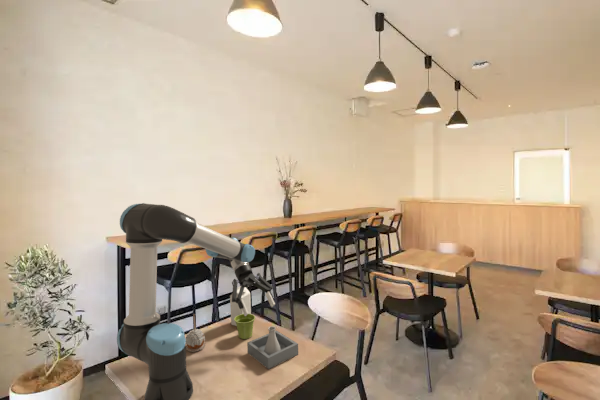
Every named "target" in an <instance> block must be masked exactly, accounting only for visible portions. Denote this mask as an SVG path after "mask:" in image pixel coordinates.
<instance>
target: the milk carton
mask: <svg viewBox="0 0 600 400" xmlns="http://www.w3.org/2000/svg"><path fill="white" fill-rule="evenodd" d="M240 287H241V285H240V286H237V297H238V294H239V291H240ZM237 297H236V298H237ZM251 297H252V296H251V292H250V290H249V289H248V287H247V288H246V287H244V290H243V293H242V296H241V299H243V301H244V303H245V306H246V308H247V310H248V314H252V306H251V305H252V304H251V303H252V301H251ZM229 299H230V301H229V302H230V325H232V326H235V327H237V325H236V322H235V321H234V318H235V317H236V316H238V315H240V314H244V313H243V311H242V309H240V308H239V306H238V303H236V302H232V293H231V294H230V295H229ZM241 299H240V300H241Z"/></svg>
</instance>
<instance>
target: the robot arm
mask: <svg viewBox="0 0 600 400" xmlns="http://www.w3.org/2000/svg"><path fill="white" fill-rule="evenodd" d="M119 226H120V229H121V230H122V232H123V233H125V244H126V245H128V246H129V247H130V257H129V258H130V259H129V260H130V261H129V262H130V263H129V295H128V296H129V301H128V302H129V305H128V315H127V316H126V317H125V318H124V319H123V323H122V324H121V328H120V329H118V332H117V334H116V343H117V346H118V349H119V350H121V352H123V354H125V355H127V356H128V357H131V358H135V359H137V360H139V361H141V362H143V363H145V364H147V366H148V377H149V378H148V382H147V384H146V385H147V386H146V389H145V393H144V398H143V399H144V400H191V398H192V395H193V393H194V387H193V385H194V384H193V381H192V378H191V376H190V375H189V372H188V370H187V349H186V346H187V345H186V335H185V331H184V329H183V327H181V326H180V325H179V324H176V323H172V322H169V323H167V322H164V323H161V315H160V314H159V313H158V312H157V278H158V277H157V276H158V275H157V274H158V272H157V270H158V247H159V245H160V244H162V242H163V240H166V241H173V242H178V243H179V244H186V243H189V244H192V245H195V246H197V247H200V248H203V249H205V252H206V254H207V256H208V257H212V258H219V259H224V260H225V259H226V260H229V262H230V266H231V268H232V270H233V272H234V274H235V276H236V278H234V279H233V280H232V281H231V284H232V293H231V294H232V302H236V303H238V306H239V308H240V309H242V311H243V313H244V316H247V315H248V310H247V308H246V306H245V303H244V301H243V299H241V296H242V293H243V290H244V287H246V288H247V289H248V288H249V287H256V288H257V289H259V290H261V291H263V292H264V293H265V296H266V299H267V301H268V303H269V305H270V307H271V308H273V307H274V306H275V305H276V302H275V300H274V295H273V293H272V291H273V289H274V286H273V285H272V284H270V283H269V282H268V281H267V280H266V279H265V278H264V277H263V276H262V275H261V273H260V272H258V273H257V274H254V272H253V270H252V267H251V265H250V262H252V261H253V260H254V258H255V255H256V249H255V247H254V245H252V244H248V243H243V242H241V241H239V239H237V238H236V237H230V236H227V235H225V234H223V233H220V232H218V231H216V230H213V229H211V228H209V227H208V226H206V225H203V224H201V223H198V222H197V219H195V218H194V217H192V216H190V215H188V214H186V213H184V212H182V211H180V210H178V209H175V207H171V206H168V205H164V204H153V203H152V204H151V203H145V202H143V203H134V204H131V205H129V206H127V208H125V209H124V211H123V212H122V213H121V215H120V218H119ZM238 284H239V285H240V286H241V287H240V291H239V294H238V297H237V288H238ZM236 297H237V298H236ZM240 299H241V300H240Z"/></svg>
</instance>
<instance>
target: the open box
mask: <svg viewBox="0 0 600 400" xmlns="http://www.w3.org/2000/svg"><path fill="white" fill-rule="evenodd" d="M275 334H276V338H277V340H278V343H279V345H280V348H281V350H280V351H278V352H275V353H273V354H271V355H268V354H266V353H265V352H264V348H265V345H266V343H267V339H268V336H269V333H267V334H264V335H262V336H260V337H258V338H255V339H252V340H250V341H247V348H246V349H247V354H248V355H250V356H251V357H252V358H254V360H256V361H257V362H258V363H259V364H261V365H262V366H263V367H265V368H266V369H267V370H271V369H273V368H274V367H276V366H278V365H280V364H282V363H284V362H285V361H289V359H292V358H293V357H295V356H297V355H299V343H298V342H296V341H295V340H292V339H291V338H290V337H287V336H286V334H285V335H284V334H283V333H281V332H280V331H278V330H275Z"/></svg>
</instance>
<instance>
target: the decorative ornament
mask: <svg viewBox="0 0 600 400" xmlns="http://www.w3.org/2000/svg"><path fill="white" fill-rule="evenodd" d="M192 318H193V321H192V322H193V329H191V330H190V331H189V332H188V333H187V334H186V335H185V339H186V342H185V346H186V352H199V351H201V350H203V349H204V348H205V347H206V342H205V341H206V337H205V333H204V332H203V330H201V329H198V328H197V327H196V325H197V324H196V314H195V313H193V314H192Z"/></svg>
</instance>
